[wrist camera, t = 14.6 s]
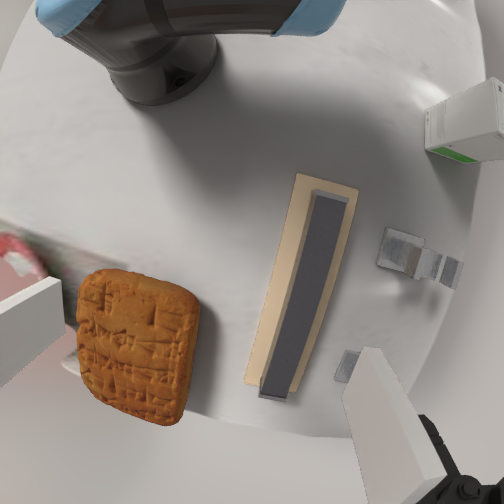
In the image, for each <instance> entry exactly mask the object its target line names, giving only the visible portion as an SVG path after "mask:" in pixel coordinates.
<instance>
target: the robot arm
mask: <svg viewBox="0 0 504 504" xmlns="http://www.w3.org/2000/svg"><path fill="white" fill-rule="evenodd" d="M345 2H346V0H37V1H36V6H35V14H36V17H37V19H38V21H39V22H40V23H41V24H42V25H43V26H45V27H46V28H47V29H49V30H50V31H51V32H52V34H53V36H55V37H57V38H58V37H59V38H61V39H63V40H64V41H66V42H68V43H69V44H71V45H73V46H74V47H76V48H77V49H79V50H81V51H82V52H84V53H85V54H87V55H89V56H90V57H92V58H93V59H95V60H96V61H98V62H99V63H101V64H102V65H104V66H105V67H106V69H107V70H108V72H109V74H110V77H111V80H112V83H113V85H114V86H115V88H116V89H117V90H118V91H119V92H120V93H121V94H122V95H123V96H125V97H127V98H128V99H130V100H131V101H133V102H136V103H138V104H142V105H161V104H166V103H170V102H173V101H175V100H178V99H180V98H182V97H184V96H185V95H187V94H189V93H190V92H191V91H193V90H194V89H195V88H197V87H198V86H199V85H200V84H201V83H202V82H203V81H204V79H205V78H206V77H207V76H208V74H209V73H210V71H211V69H212V67H213V65H214V63H215V60H216V56H217V42H216V39H215V36H214V34H261V35H270V37H277V36H279V35H294V36H317V35H320V34H322V33H324V32H326V31H327V30H328V29H329V28H330V27H331V26H332V25H333V24H334V23H335V21H336V20H337V18H338V16H339V15H340V13H341V11H342V9H343V7H344V4H345ZM65 333H66V330H65V322H64V313H63V303H62V289H61V280H59V279H56V278H53V277H50V276H49V277H47V278H45V279H43V280H41V281H39V282H37V283H35V284H33V285H32V286H30V287H28V288H26V289H24V290H22V291H20V292H18V293H16V294H14V295H12V296H10V297H9V298H7V299H5V300H3V301H1V302H0V388H2V387H3V386H4V385H5V384H6V383H7V382H8V381H9V380H11V379H12V378H13V377H14V376H15V375H16V374H17V373H18V372H20V371H21V370H22V369H23V368H24V367H25V366H26V365H28V364H29V363H30V362H31V361H32V360H34V359H35V358H36V357H37V356H38V355H39V354H41V353H42V352H43V351H44V350H45V349H47V348H48V347H49V346H50V345H51V344H53V343H54V342H55V341H56V340H58V339H59V338H60V337H61V336H62V335H64V334H65ZM341 398H342V402H343V405H344V409H345V412H346V416H347V420H348V423H349V427H350V431H351V435H352V438H353V441H354V446H355V450H356V454H357V458H358V462H359V466H360V470H361V474H362V478H363V483H364V487H365V491H366V496H367V500H368V504H504V477H503V478H502V479H501V480H500V481H499V482H498V483H497V484H496V485H481V484H480V483H479V481H478V480H477V479H475V478H474V477H472V476H468V475H460V473H459V471H458V469H457V467H456V465H455V463H454V461H453V459H452V457H451V455H450V453H449V451H448V449H447V447H446V445H445V444H443V440H442V438H441V436H439V432H438V431H437V429H436V427H435V425H434V423H432V422H431V421H430V420H429V419H428V418H427V417H426V416H425V415H417V413H416V411H415V409H414V408H413V406H412V404H411V402H410V400H409V398H408V397H407V395H406V393H405V391H404V389H403V388H402V386H401V384H400V382H399V380H398V379H397V377H396V375H395V373H394V372H393V370H392V368H391V366H390V365H389V363H388V361H387V360H386V358H385V356H384V355H383V353H382V351H381V349H380V348H375V347H365V346H363V348H362V351H361V353H360V356H359V358H358V361H357V363H356V365H355V368H354V370H353V372H352V375H351V377H350V379H349V382H348V384H347V386H346V388H345V390H344V393H343V395H342V397H341Z"/></svg>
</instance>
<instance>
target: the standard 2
mask: <svg viewBox="0 0 504 504" xmlns="http://www.w3.org/2000/svg"><path fill="white" fill-rule="evenodd" d="M424 242H425V239H422V238H419V237H416V236H413V235H410V234H407V233H404V232H400V231H397V230H394V229H391V228H387V227H386V230H385V234H384V238H383V241H382V245H381V249H380V252H379V256H378V259H377V262H376V264H377V265H378V266H382V267H386V268H390V269H394V270H398V271H402V272H403V273H405V274H407V275H408V276H410V277H411V278H413V279H416V280H420V277H423V278H427V279H431V280H434V281H435V278H436V275H437V272H438V268H439V265H440V262H441V258H442V254H439V253H437V252H434V251H432V250H429V249H426V248H424V247H423V245H424ZM463 264H464V263H463V262H461V261H458V260H456V259H453V258H451V257H448V256H447V259H446V262H445V265H444V269H443V272H442V275H441V278H440V281H439V282H440V283H442V284H444V285H446V286H447V287H449V288H451V289H455V290H456V287H457V284H458V281H459V277H460V274H461V271H462V268H463Z"/></svg>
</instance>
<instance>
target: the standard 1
mask: <svg viewBox="0 0 504 504" xmlns="http://www.w3.org/2000/svg"><path fill="white" fill-rule="evenodd" d="M359 356H360V352H353V351H347V350H346V351H345V353H344V355H343V358H342V360H341V363H340V365H339V367H338V370H337V372H336V374H335V376H334V380H335V381H340V382H349V379H350V377H351V375H352V372H353V370H354V368H355V365H356V363H357V361H358V358H359Z"/></svg>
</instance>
